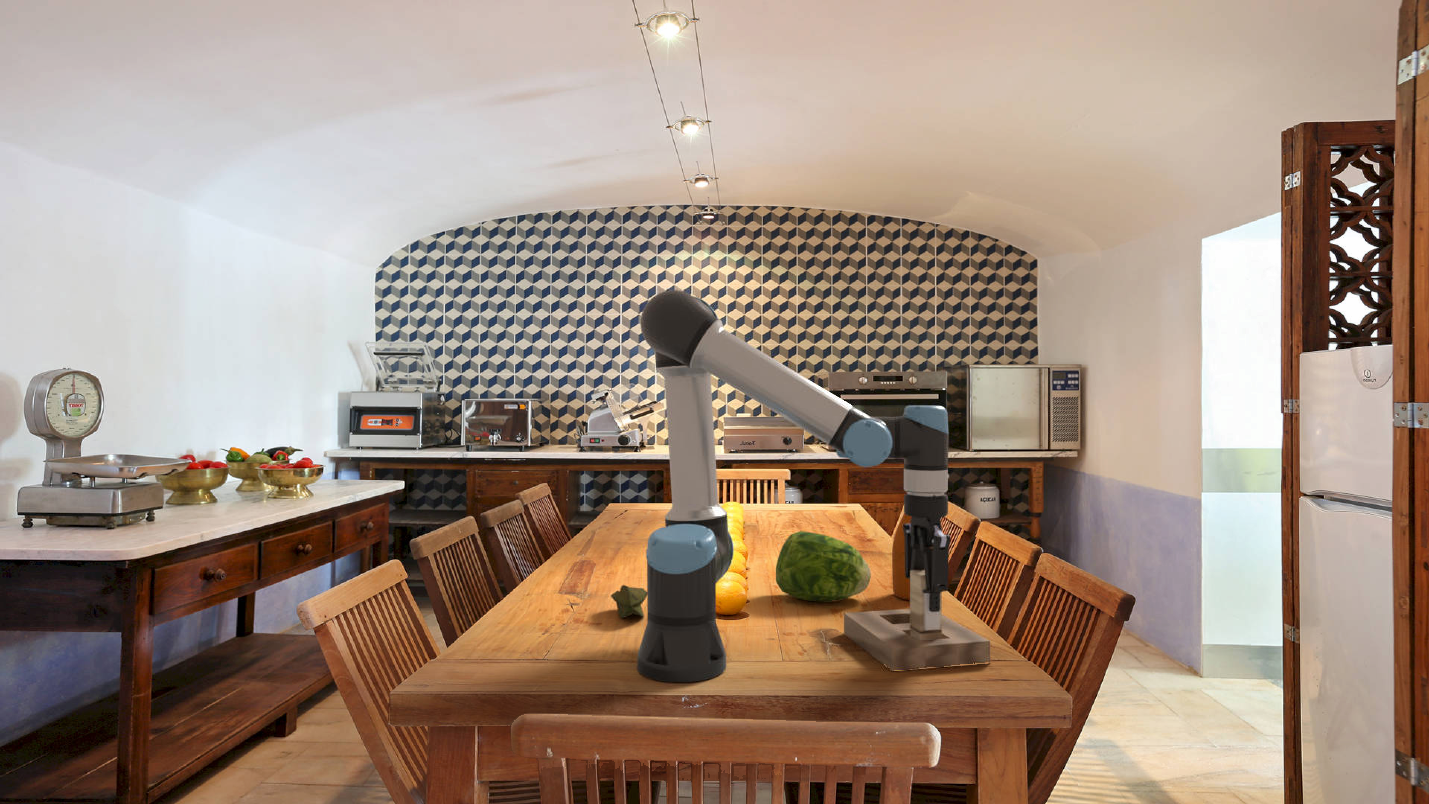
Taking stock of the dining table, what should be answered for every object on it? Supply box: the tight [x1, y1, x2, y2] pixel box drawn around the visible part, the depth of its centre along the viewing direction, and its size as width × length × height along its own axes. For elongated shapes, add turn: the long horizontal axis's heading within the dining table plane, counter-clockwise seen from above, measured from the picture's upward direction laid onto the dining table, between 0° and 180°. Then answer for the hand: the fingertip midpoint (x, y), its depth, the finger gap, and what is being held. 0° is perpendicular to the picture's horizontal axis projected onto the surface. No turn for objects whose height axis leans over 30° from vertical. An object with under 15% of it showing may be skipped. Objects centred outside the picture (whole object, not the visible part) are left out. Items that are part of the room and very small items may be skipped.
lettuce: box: [775, 530, 872, 603], centre depth 184 cm, size 16×21×15 cm
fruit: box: [610, 584, 647, 619], centre depth 171 cm, size 11×12×7 cm
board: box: [843, 608, 991, 671], centre depth 150 cm, size 18×22×4 cm
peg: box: [909, 569, 943, 641], centre depth 145 cm, size 4×4×14 cm
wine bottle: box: [891, 512, 932, 601], centre depth 187 cm, size 10×10×30 cm
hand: (925, 624), depth 145 cm, fingers closed on peg, 4 cm apart
